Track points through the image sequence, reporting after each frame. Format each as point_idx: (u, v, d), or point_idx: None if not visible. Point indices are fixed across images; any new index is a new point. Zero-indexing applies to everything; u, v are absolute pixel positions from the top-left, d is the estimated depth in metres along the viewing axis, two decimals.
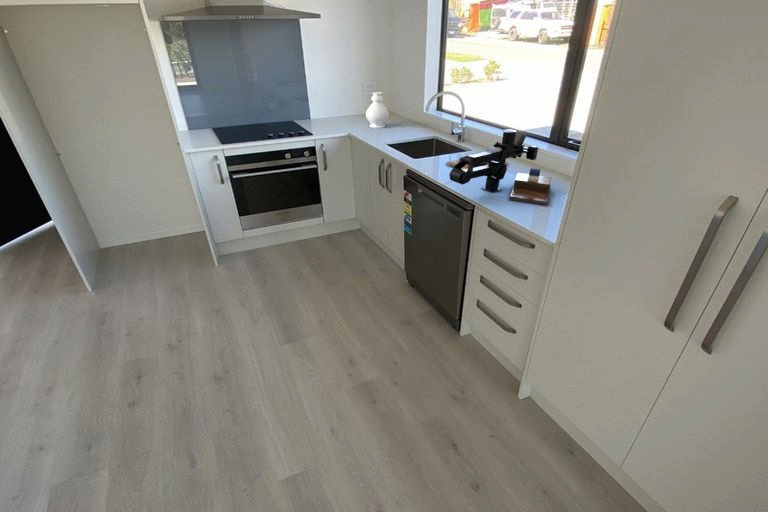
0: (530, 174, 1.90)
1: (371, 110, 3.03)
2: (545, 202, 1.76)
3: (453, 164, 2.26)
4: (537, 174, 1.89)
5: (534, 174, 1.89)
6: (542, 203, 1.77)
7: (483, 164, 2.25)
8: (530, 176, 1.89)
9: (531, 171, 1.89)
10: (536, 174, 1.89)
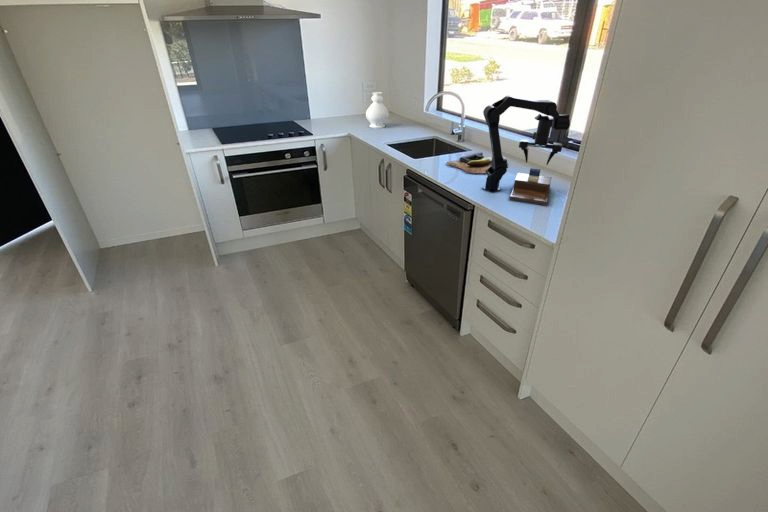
0: (530, 174, 1.90)
1: (371, 110, 3.03)
2: (545, 202, 1.76)
3: (453, 164, 2.26)
4: (537, 174, 1.89)
5: (534, 174, 1.89)
6: (542, 203, 1.77)
7: (483, 164, 2.25)
8: (530, 176, 1.89)
9: (531, 171, 1.89)
10: (536, 174, 1.89)
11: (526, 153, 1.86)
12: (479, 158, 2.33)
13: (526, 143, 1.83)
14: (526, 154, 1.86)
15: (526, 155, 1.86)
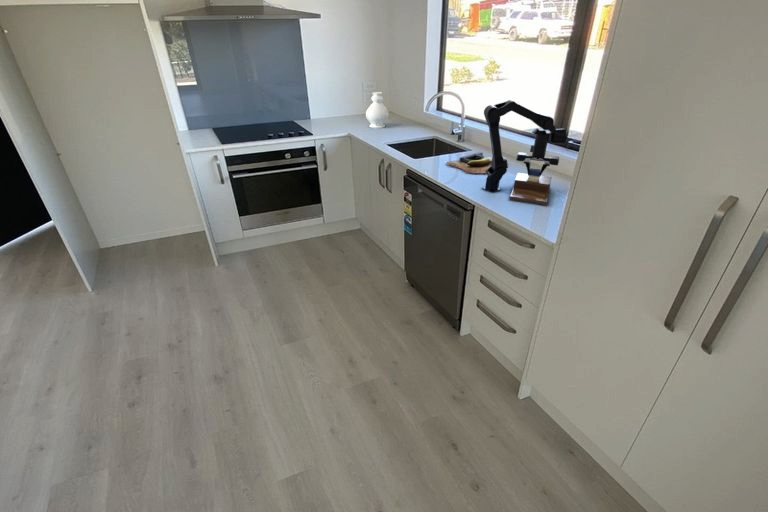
0: (530, 174, 1.90)
1: (371, 110, 3.03)
2: (545, 202, 1.76)
3: (453, 164, 2.26)
4: (537, 174, 1.89)
5: (534, 174, 1.89)
6: (542, 203, 1.77)
7: (483, 164, 2.25)
8: (530, 176, 1.89)
9: (531, 171, 1.89)
10: (536, 174, 1.89)
11: (528, 166, 1.88)
12: (479, 158, 2.33)
13: (524, 156, 1.86)
14: (528, 167, 1.88)
15: (528, 168, 1.89)
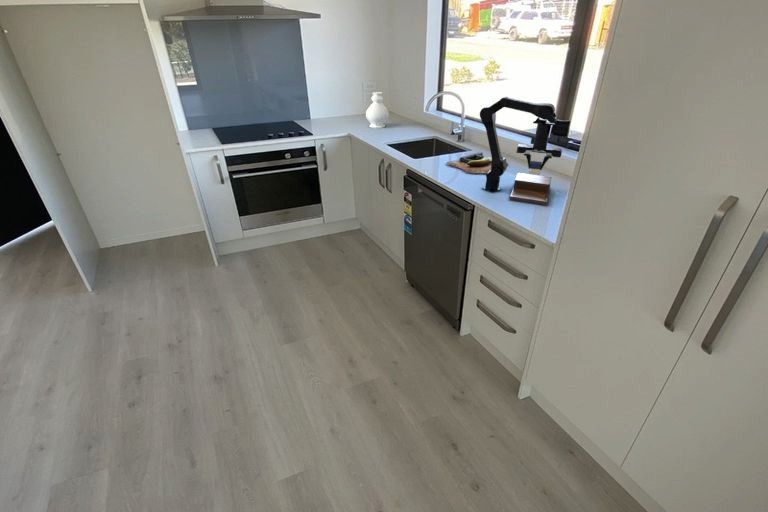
0: (531, 167, 1.79)
1: (371, 110, 3.03)
2: (545, 202, 1.76)
3: (453, 164, 2.26)
4: (538, 167, 1.78)
5: (535, 167, 1.78)
6: (542, 203, 1.77)
7: (483, 164, 2.25)
8: (531, 169, 1.78)
9: (532, 164, 1.78)
10: (537, 167, 1.78)
11: (529, 159, 1.77)
12: (479, 158, 2.33)
13: (524, 148, 1.76)
14: (529, 160, 1.78)
15: (529, 161, 1.78)
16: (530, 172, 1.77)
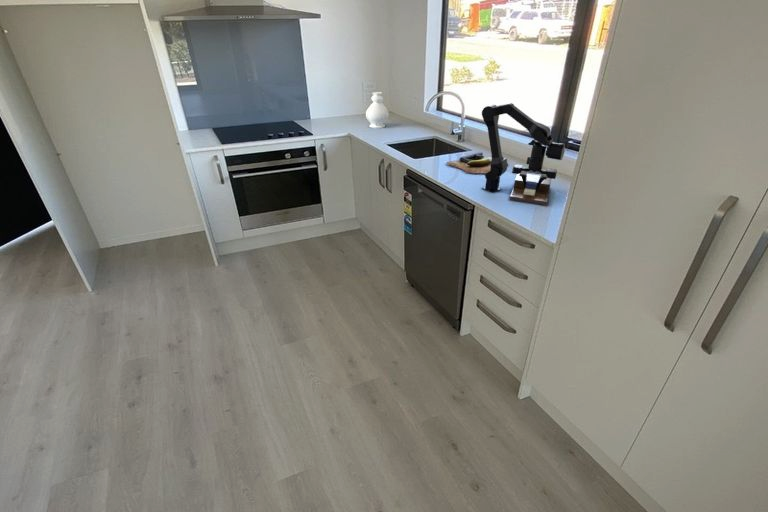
0: (526, 187, 1.82)
1: (371, 110, 3.03)
2: (545, 202, 1.76)
3: (453, 164, 2.26)
4: (534, 187, 1.80)
5: (530, 187, 1.81)
6: (542, 203, 1.77)
7: (483, 164, 2.25)
8: (526, 189, 1.80)
9: (527, 184, 1.81)
10: (533, 187, 1.80)
11: (524, 179, 1.80)
12: (479, 158, 2.33)
13: (519, 169, 1.78)
14: (524, 180, 1.80)
15: (524, 181, 1.81)
16: (525, 192, 1.79)
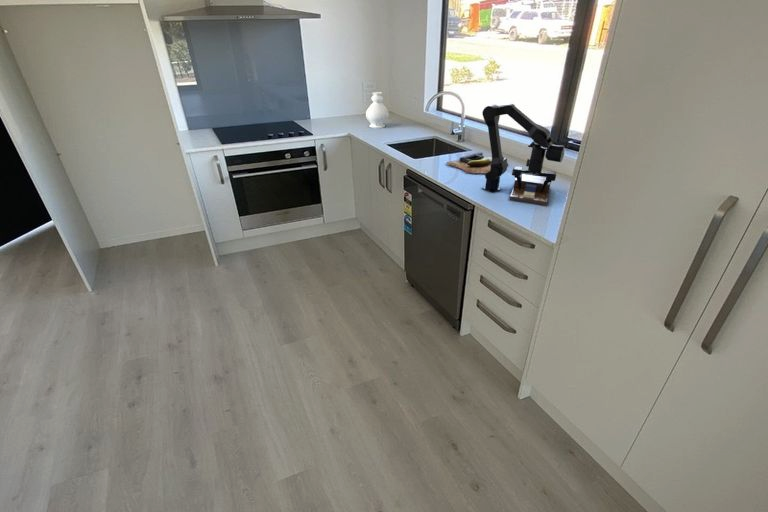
0: (526, 190, 1.82)
1: (371, 110, 3.03)
2: (545, 202, 1.76)
3: (453, 164, 2.26)
4: (533, 190, 1.81)
5: (530, 190, 1.81)
6: (542, 203, 1.77)
7: (483, 164, 2.25)
8: (526, 192, 1.81)
9: (527, 187, 1.81)
10: (532, 190, 1.81)
11: (519, 181, 1.81)
12: (479, 158, 2.33)
13: (519, 171, 1.79)
14: (519, 182, 1.81)
15: (519, 183, 1.82)
16: (525, 195, 1.80)
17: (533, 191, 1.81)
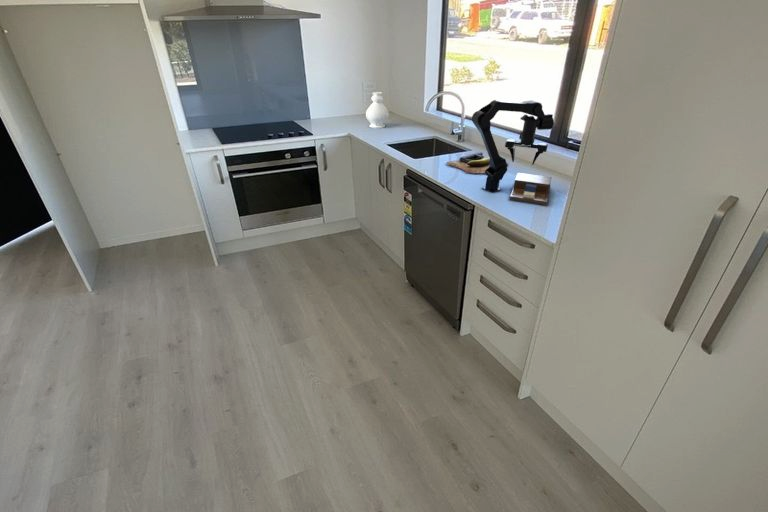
0: (526, 190, 1.82)
1: (371, 110, 3.03)
2: (545, 202, 1.76)
3: (453, 164, 2.26)
4: (533, 190, 1.81)
5: (530, 190, 1.81)
6: (542, 203, 1.77)
7: (483, 164, 2.25)
8: (526, 192, 1.81)
9: (527, 187, 1.81)
10: (532, 190, 1.81)
11: (512, 153, 1.88)
12: (479, 158, 2.33)
13: (512, 143, 1.86)
14: (512, 154, 1.89)
15: (512, 155, 1.89)
16: (525, 195, 1.80)
17: (533, 191, 1.81)
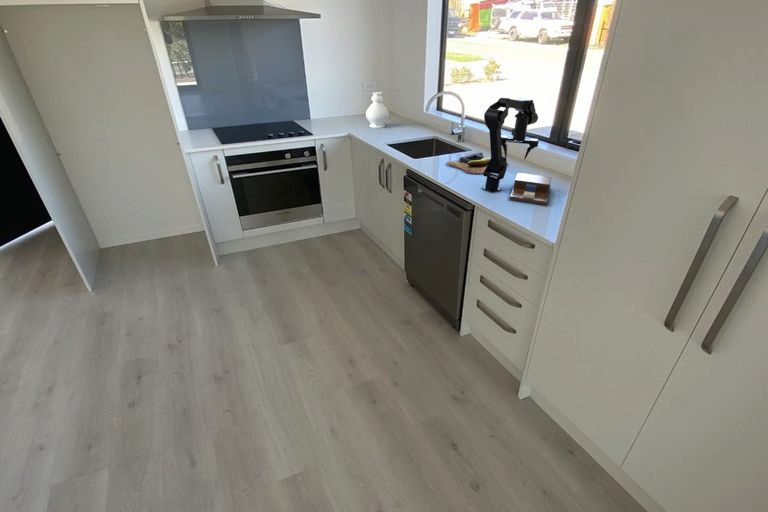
0: (526, 190, 1.82)
1: (371, 110, 3.03)
2: (545, 202, 1.76)
3: (453, 164, 2.26)
4: (533, 190, 1.81)
5: (530, 190, 1.81)
6: (542, 203, 1.77)
7: (483, 164, 2.25)
8: (526, 192, 1.81)
9: (527, 187, 1.81)
10: (532, 190, 1.81)
11: (505, 148, 1.96)
12: (479, 158, 2.33)
13: (505, 139, 1.94)
14: (505, 149, 1.97)
15: (505, 150, 1.97)
16: (525, 195, 1.80)
17: (533, 191, 1.81)
